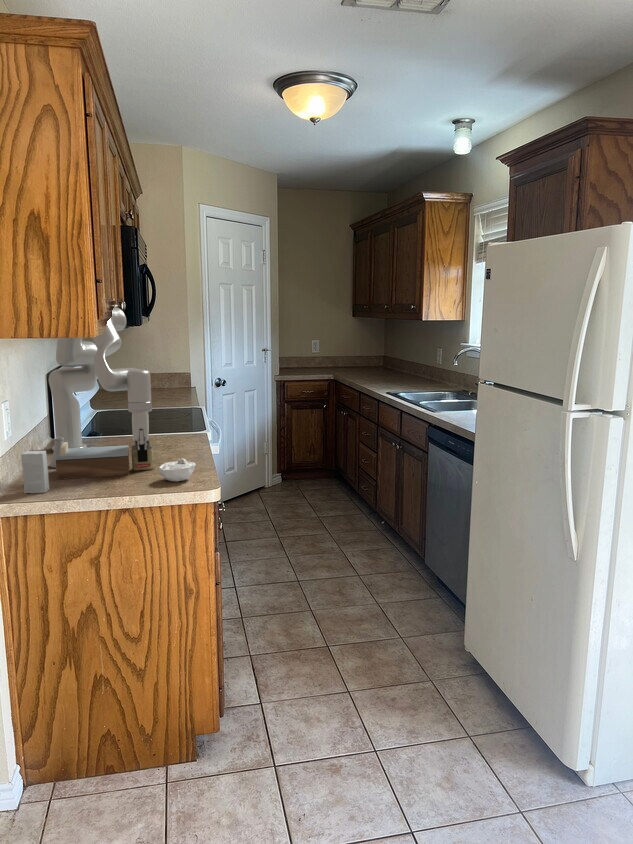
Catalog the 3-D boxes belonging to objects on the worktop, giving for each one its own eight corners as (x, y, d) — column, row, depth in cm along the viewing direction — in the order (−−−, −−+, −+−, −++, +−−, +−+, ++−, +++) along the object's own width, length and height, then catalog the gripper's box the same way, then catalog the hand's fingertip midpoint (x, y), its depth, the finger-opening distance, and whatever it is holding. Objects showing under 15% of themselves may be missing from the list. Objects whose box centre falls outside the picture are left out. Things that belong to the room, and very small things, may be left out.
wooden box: (61, 469, 210) (60, 452, 209) (129, 465, 216) (128, 448, 215) (57, 479, 198) (55, 461, 197) (129, 474, 204) (128, 456, 203)
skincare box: (49, 489, 186) (46, 450, 184) (45, 493, 182) (42, 453, 180) (28, 490, 186) (25, 450, 184) (23, 494, 181) (20, 454, 179)
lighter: (132, 471, 208) (130, 441, 207) (132, 468, 212) (130, 439, 210) (154, 469, 210) (152, 440, 209) (153, 467, 214) (152, 438, 212)
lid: (60, 451, 209) (59, 441, 209) (128, 448, 215) (128, 438, 214) (55, 460, 197) (54, 449, 196) (128, 455, 203) (127, 445, 202)
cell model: (152, 481, 196) (151, 460, 195) (183, 474, 205) (182, 454, 204) (172, 486, 189) (171, 465, 188) (202, 479, 198) (202, 458, 197)
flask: (65, 462, 221) (63, 435, 219) (75, 465, 216) (74, 437, 214) (45, 466, 215) (43, 438, 213) (56, 469, 211) (54, 440, 209)
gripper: (128, 404, 214) (131, 455, 217) (128, 410, 199) (131, 466, 202) (151, 403, 216) (153, 454, 219) (152, 409, 201) (154, 465, 204)
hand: (142, 459), depth 211 cm, fingers closed on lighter, 3 cm apart
